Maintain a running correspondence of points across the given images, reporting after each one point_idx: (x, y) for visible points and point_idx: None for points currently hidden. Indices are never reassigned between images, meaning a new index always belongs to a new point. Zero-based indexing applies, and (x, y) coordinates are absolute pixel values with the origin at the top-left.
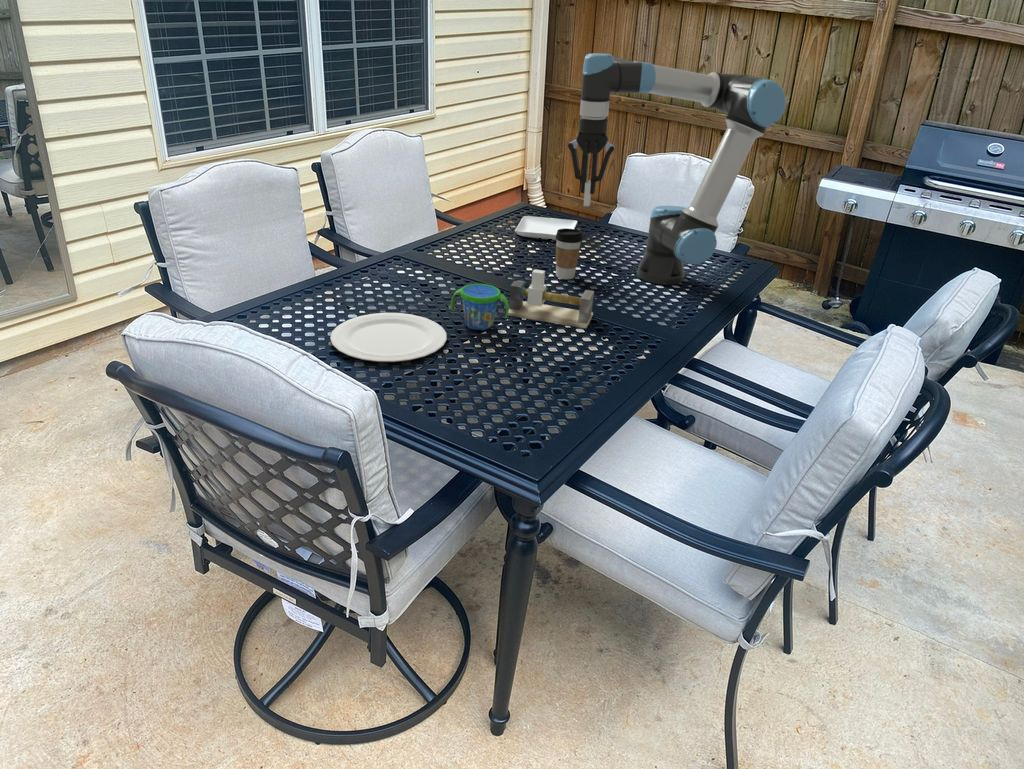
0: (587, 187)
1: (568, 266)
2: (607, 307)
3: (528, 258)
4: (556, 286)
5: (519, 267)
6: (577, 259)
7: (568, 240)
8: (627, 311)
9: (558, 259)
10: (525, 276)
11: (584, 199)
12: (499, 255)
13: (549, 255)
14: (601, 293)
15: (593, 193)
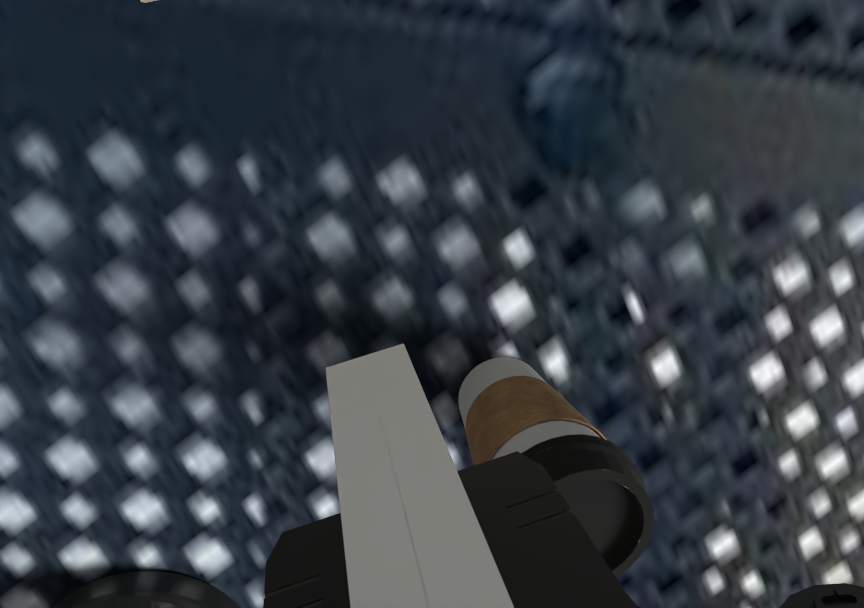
0: (414, 544)
1: (490, 391)
2: (142, 161)
3: (711, 471)
4: (480, 257)
5: (709, 357)
6: (471, 454)
7: (544, 452)
8: (28, 175)
9: (554, 394)
10: (649, 278)
11: (411, 388)
12: (826, 423)
13: (648, 554)
14: (262, 313)
15: (280, 541)
